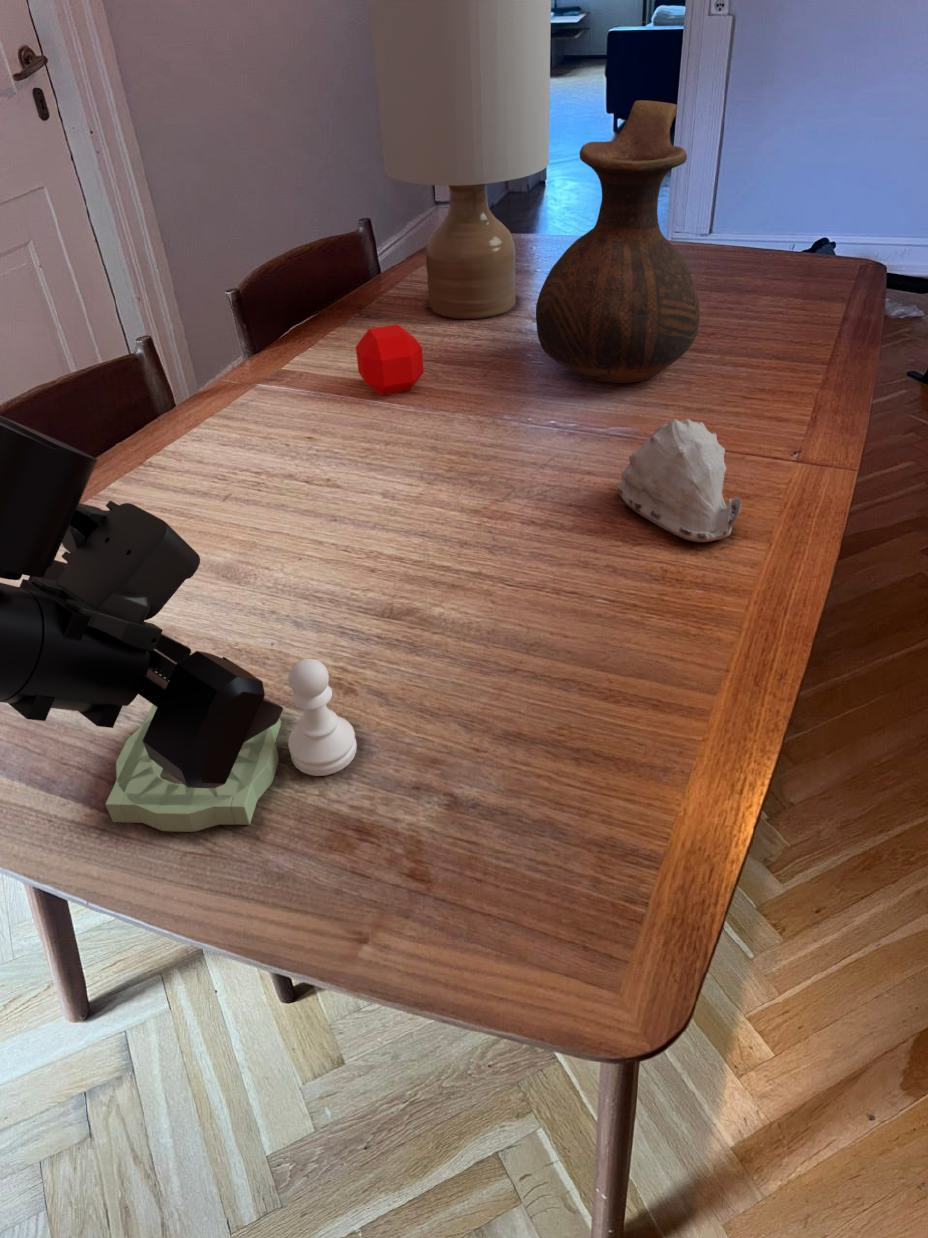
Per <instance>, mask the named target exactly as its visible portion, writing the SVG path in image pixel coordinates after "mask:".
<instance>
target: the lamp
mask: <svg viewBox="0 0 928 1238" xmlns="http://www.w3.org/2000/svg"><path fill="white" fill-rule="evenodd" d="M368 7H369V19H370V20H369V21H370V29H371V31H370V32H371V40H372V51H373V60H374V72H375V73H374V74H375V82H376V83H375V84H376V94H377V104H378V105H377V107H378V117H379V126H380V136H381V148H382V158H383V168H384V169H383V170H384V173H385V175H386V176H388V177H389V178H392V179H394V180H396V181H399V182H405V183H409V184H416V185H426V186H447V187H448V188H449V195H448V197H449V198H448V199H449V207H448V209H447V213H446V215H445V216H444V218H443V220H442V221H441V222H440V223H439V224H438V225H437V226H436V227H435V228H434V230H433V231H432V233H431V234H430V235H429V237H428V239H427V241H426V247H425V263H426V264H425V265H426V274H427V278H426V279H427V292H428V299H429V300H428V301H429V307H430V309H431V310H432V311H433V312H434V313H435V314H437V315H439V316H442V317H446V318H451V319H458V320H470V319H471V320H473V319H485V318H486V319H487V318H491V317H495V316H496V317H497V316H499V315H502V314H506V313H507V312H509V311H510V310H512V309H513V308H514V306H515V305H516V303H517V298H516V297H517V294H516V292H517V290H516V289H517V288H516V286H517V281H516V265H517V262H516V259H517V257H516V255H517V254H516V253H517V252H516V246H515V242H514V239H513V235H512V233H511V231H510V229H508V227H506V225H504V223H502V221H500V220H499V219H498V218H497V217H496V216H495V215H494V213H493V212H492V211H491V210H490V207H489V201H488V193H487V191H488V190H487V186H488V184H493V183H502V182H507V181H512V180H517V179H521V178H525V177H529V176H532V175H535V174H537V173H539V172H542V171H543V170H544V169H546V168H547V167H548V166H549V164H550V107H551V106H550V105H551V104H550V102H551V101H550V100H551V99H550V98H551V34H552V33H551V32H552V31H551V29H552V28H551V27H552V26H551V25H552V23H551V22H552V21H551V20H552V19H551V18H552V0H368Z"/></svg>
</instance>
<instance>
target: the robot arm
mask: <svg viewBox="0 0 928 1238" xmlns="http://www.w3.org/2000/svg"><path fill="white" fill-rule="evenodd" d="M97 463H98V459H97V458H96V457H94V456H92V455H90V454H88V453H86V452H84V451H82V450H80V449H78V448H75V447H74V446H71V445H69V444H67V443H65V442H63V441H60V440H58V439H56V438H53V437H52V436H49V435H47V434H44V433H42V432H40V431H38V430H35V429H33V428H30V427H28V426H26V425H23V424H22V423H19V422H18V421H17V422H16V421H14V420H11V419H9V418H8V417H5V416H3V415H0V579H4V580H9V581H20V580H21V582H20V585H19V586H16V585H13V584H7V583H3V582H0V703H4V704H8V705H9V706H11V708H13V709H14V710H15V711H16V712H17V713H18V714H20V715H21V716H22V717H23V718H24V719H26V720H30V721H41V722H46V720H47V718H48V715H49V713H50V711H51V709H54V710H63V711H72V712H78V713H79V714H81V715H82V716H83V717H85V718H86V719H87V720H88V721H89V722H91V723H92V724H94V725H95V726H96V727H100V728H111V729H113V728H114V727H115V724H116V723H117V720H118V718H119V715H120V713H121V712H122V711H121V710H122V709H123V707H129V706H130V704H132V702H133V701H134V700H135V699H136V698H137V696H138V695H139V696H140V697H142V698H143V699H145V700H146V701H147V702H148V703H151V705H155V706H156V707H157V709H156V711H155V714H154V716H153V718H152V720H151V723H150V725H149V727H148V729H147V732H146V734H145V736H144V738H143V743H144V746H145V748H146V751H147V753H148V756H149V758H150V759H152V760H153V761H154V762H155V763H157V764H158V765H159V766H161V767H162V768H163V770H164V771H166V772H167V773H168V774H169V775H171V776H172V777H173V778H175V779H176V780H177V781H178V782H180V784H184V785H185V786H187V787H188V788H217V787H219V786H221V785H224V784H225V783H226V781H227V779H228V777H229V774H230V772H231V770H232V768H233V766H234V763H235V761H236V759H237V757H238V754H239V752H240V750H241V748H242V745H243V743H244V742H246V741H248V740H249V739H251V738H253V737H254V736H256V735H258V734H259V733H261V732H263V731H264V730H266V729H268V728H269V727H271V726H273V725H274V724H276V723H277V722H278V720H279V718H280V719H281V715H282V713H283V711H284V708H283V706H281V705H280V704H278V703H276V702H275V701H271V700H269V699H268V698H265V697H266V694H265V688H264V683H263V681H262V680H261V679H259V678H258V677H256V676H255V675H253V674H252V673H251V672H249V671H247V670H246V669H245V668H243V667H241V666H239V665H238V664H236V663H235V662H234V661H231V660H230V659H228V658H227V657H225V656H223V657H220V656H218V655H216V654H213V653H209V652H205V651H200V650H196V651H194V652H193V653H192V649H191V648H190V647H188V645H185V644H183V643H182V642H179V641H177V640H175V639H173V638H172V637H170V636H168V635H166V634H164V633H163V631H164V629H163V628H161V627H159V626H158V625H156V624H154V623H152V622H148V620H151V619H152V618H154V617H155V616H157V615H158V614H159V613H160V611H162V610H163V608H164V607H165V606H166V605H167V603H168V602H169V601H170V599H171V598H172V597H173V596H174V594H176V592H177V591H178V590H179V588H180V587H181V586H182V585H183V584H184V582H185V581H186V580H189V579H191V578H192V577H193V576H194V574H195V573H196V572H197V571H198V569H199V568H200V567H199V566H200V564H201V557H200V554H199V553H198V552H197V551H196V550H195V549H194V548H193V547H191V545H190V544H188V543H187V541H186V540H184V538H182V537H181V536H180V535H179V533H178V532H176V531H175V530H174V529H173V527H171V525H169V523H168V522H166V521H165V520H164V519H162V518H160V517H158V516H156V515H154V514H152V513H151V512H149V511H147V510H145V509H143V508H141V507H139V506H137V505H135V504H133V503H130V502H124V503H120V504H118V503H116V502H114V501H112V500H109V501H108V502H107V503H106V504H105V507H106V508H107V509H108V510H104V509H101V508H100V507H98V506H94V505H89V504H85V503H81V500H82V497H83V495H84V493H85V491H86V488H87V487H88V483H89V481H90V479H91V477H92V474H93V472H94V470H95V468H96V465H97ZM61 546H62V547H63V548H64V549H65V550H66V551H64V553H62V555H61V556H60V557H61V558H62V559H64V560H65V561H66V562H64V561H60V560H56V557H57V554H58V552H59V551H60V548H61ZM22 576H27V577H28V579H26V578H22Z"/></svg>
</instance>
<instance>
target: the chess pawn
mask: <svg viewBox="0 0 928 1238" xmlns="http://www.w3.org/2000/svg"><path fill="white" fill-rule="evenodd" d="M329 682H330V676H329V671H328V669H327V667H326V666H325V665H324V664H323V662H321V661H320V660H318V659H315V658H304V659H301V660H299V661H297V662H295V664H294V665H293V666H291V668H290V670H289V673H288V684H289V687H290V689H291V690H292V692H293V694H292V703H293V704H294V705H295V707H297V708H298V709H301V710H303V714H302V715H301V716H300V718H299V720H298V723H297V725H296V726H294V728H293V730H291V732H290V734H289V736H288V741H287V746H288V750H289V754H290V758H291V762H292V764H293V765H294V767H295V768H296V769H297V770H298V771H300V772H301V773H304V774H307V775H309V776H314V777H315V776H316V777H321V776H322V777H323V776H329V775H333V774H336V773H338V772H340V771H341V770H343V769H345V768H346V767H348V766H349V765H350V764H351V762H352V761H353V759H355V756H356V753H357V746H358V745H357V740H356V732H355V730H354V727H353V726H352V724H351V723H350V722H349V721H348V720H347V719H345V718H344V717H341V716H339V715H337V714H336V712H335V711H334V710H332V709H331V708H328V707H327V705H328V703H329V702H330V701H331V699H332V697H333V690H332V688H331V687H330V685H329Z"/></svg>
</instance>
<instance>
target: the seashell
mask: <svg viewBox="0 0 928 1238" xmlns="http://www.w3.org/2000/svg"><path fill="white" fill-rule="evenodd" d="M725 453H726V449H725V448H724V447H723V446H722V445H721V444H720V443H719V442H718V435H717V433H716V432H710V431H709V430H708V428H707V427H706V425H705V423H703V422H702V421H700V422H699V421H698V422H697V421H693V420H692V421H691V419H690V418H689V417H688V418H686V419H682V420H678V419H676V418H673V419H671V420H670V421H669V422H668V423H663V424H661V425H659V426H658V427H657V428H656V429H655V430H654V431H653V432H652V434H651V435H650V437H649V438H647V439H646V440H645V441H644V443H643V444H642V445H641V446H640V447H639V448H638V449H637V450H636V451H635V452H633V453H632V454H630V455H629V457H628V459H629V464H628V466H627V467H626V468H625V469H624V470H623V471H622V472H621V478H622V480H621V482H620V483H619V484H617V485H616V491H617V494H618V495H619V496H620V498H621V499H622V501H624V503H626V505H627V506H628V507H629V508H630V509H631V510H633V511H634V512H636V513H637V514H638V515H640V516H641V517H643V518H645V519H647V520H648V521H650V522H652V523H653V524H655V525H656V526H658V527H659V528H662V529H663V530H665V531H668V532H669V533H671V534H673V535H675V536H677V537H679V538H681V539H684V540H687V541H689V542H694V543H707V542H713V541H718V540H723V539H727V538H728V537H729V536H730V535H731V534H732V531H733V524H735V522H736V520H737V519H738V517H739V514H740V512H741V510H742V501H741V497H739V496H736V497H732V498H728V500H727V503H728V504H727V503H726V502H725V500H724V496H723V488H724V483H725V482H724V481H725V476H726V472H727V466H726V464H725Z"/></svg>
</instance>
